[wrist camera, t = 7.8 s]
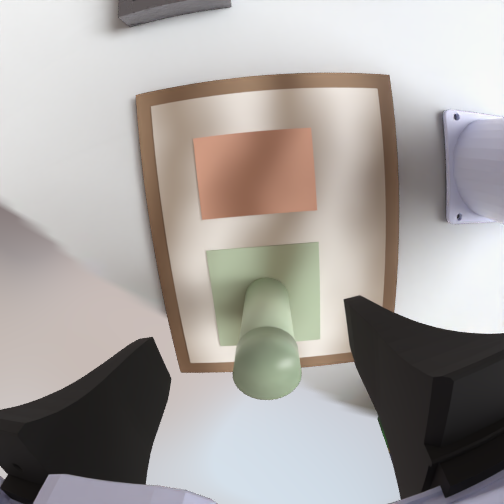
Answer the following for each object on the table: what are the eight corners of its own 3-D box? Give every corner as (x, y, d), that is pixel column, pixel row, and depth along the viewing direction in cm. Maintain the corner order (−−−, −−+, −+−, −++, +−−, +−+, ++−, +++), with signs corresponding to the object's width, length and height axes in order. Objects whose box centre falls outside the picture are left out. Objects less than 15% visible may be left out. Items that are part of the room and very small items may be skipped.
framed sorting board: (386, 76, 17) (390, 74, 17) (386, 352, 23) (389, 357, 22) (139, 96, 18) (134, 94, 18) (182, 367, 24) (180, 374, 23)
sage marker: (288, 274, 21) (301, 346, 13) (290, 316, 21) (301, 397, 14) (241, 277, 21) (228, 349, 13) (245, 319, 22) (236, 401, 14)
